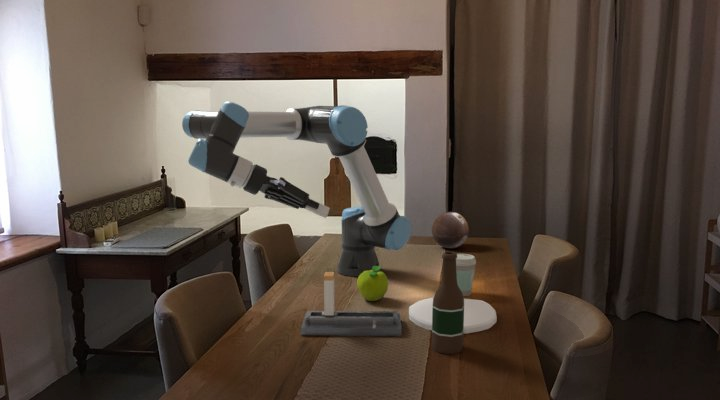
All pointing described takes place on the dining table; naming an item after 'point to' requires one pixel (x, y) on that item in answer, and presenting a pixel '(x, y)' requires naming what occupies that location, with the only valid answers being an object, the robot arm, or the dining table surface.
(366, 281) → the fruit
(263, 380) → the dining table surface
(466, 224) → the wooden sphere
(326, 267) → the dining table surface
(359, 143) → the robot arm
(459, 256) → the coffee cup
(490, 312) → the decorative plate
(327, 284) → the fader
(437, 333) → the beer bottle
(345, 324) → the fader console
